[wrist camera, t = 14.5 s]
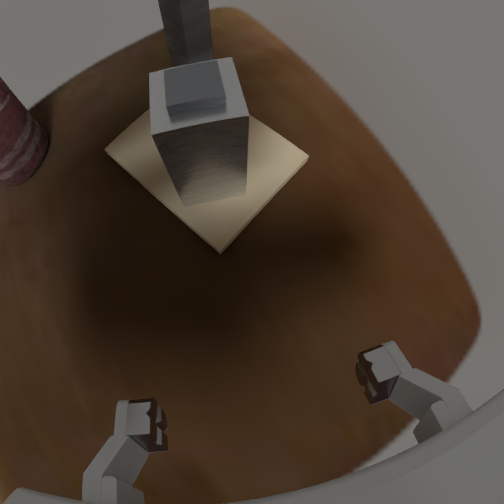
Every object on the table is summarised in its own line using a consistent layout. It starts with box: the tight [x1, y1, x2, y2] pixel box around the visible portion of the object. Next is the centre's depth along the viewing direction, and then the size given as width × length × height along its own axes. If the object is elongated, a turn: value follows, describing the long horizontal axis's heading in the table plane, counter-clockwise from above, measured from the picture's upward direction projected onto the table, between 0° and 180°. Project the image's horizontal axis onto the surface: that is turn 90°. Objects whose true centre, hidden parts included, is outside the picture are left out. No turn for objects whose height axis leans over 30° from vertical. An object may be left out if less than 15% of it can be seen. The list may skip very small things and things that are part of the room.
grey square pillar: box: [149, 57, 249, 207], centre depth 15 cm, size 4×4×9 cm
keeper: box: [105, 0, 309, 254], centre depth 15 cm, size 13×11×12 cm
